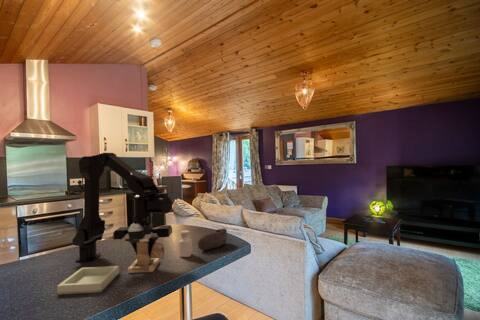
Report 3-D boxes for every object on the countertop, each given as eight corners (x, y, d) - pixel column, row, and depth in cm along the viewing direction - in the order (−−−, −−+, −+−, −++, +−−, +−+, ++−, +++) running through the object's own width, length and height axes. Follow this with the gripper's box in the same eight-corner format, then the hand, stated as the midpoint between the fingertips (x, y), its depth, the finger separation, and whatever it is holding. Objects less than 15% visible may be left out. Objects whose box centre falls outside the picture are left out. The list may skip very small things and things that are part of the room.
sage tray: (82, 275, 83) (81, 267, 83) (119, 273, 83) (118, 265, 83) (57, 294, 71) (57, 285, 71) (101, 292, 71) (100, 283, 71)
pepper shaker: (182, 253, 99) (182, 229, 99) (192, 253, 99) (191, 229, 99) (179, 257, 95) (178, 232, 96) (189, 257, 95) (188, 232, 95)
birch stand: (136, 263, 91) (136, 258, 91) (159, 261, 92) (159, 257, 92) (128, 272, 83) (128, 268, 83) (152, 271, 84) (152, 267, 84)
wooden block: (140, 261, 89) (140, 239, 89) (151, 261, 89) (150, 239, 89) (137, 266, 86) (136, 242, 86) (148, 265, 86) (147, 242, 86)
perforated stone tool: (201, 254, 99) (201, 236, 99) (194, 250, 103) (194, 233, 103) (231, 244, 109) (230, 229, 109) (223, 242, 112) (223, 226, 113)
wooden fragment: (131, 244, 113) (131, 242, 113) (156, 239, 119) (156, 237, 119) (144, 263, 92) (144, 260, 92) (173, 256, 98) (173, 253, 98)
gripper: (104, 218, 79) (105, 267, 79) (164, 216, 80) (165, 264, 80) (119, 211, 90) (120, 254, 90) (171, 209, 91) (173, 252, 91)
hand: (144, 256), depth 88 cm, fingers closed on wooden block, 4 cm apart
